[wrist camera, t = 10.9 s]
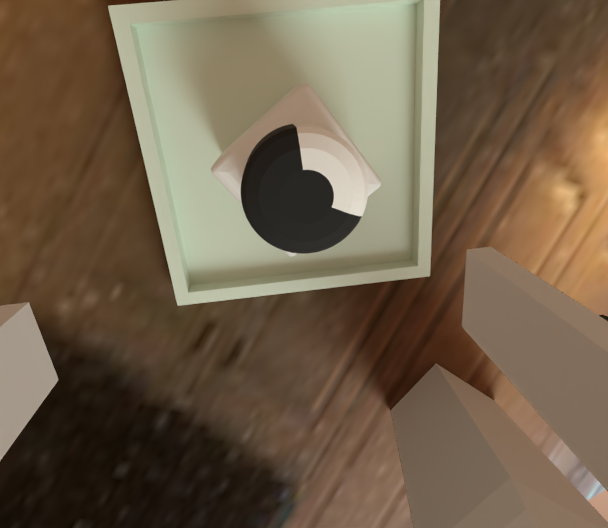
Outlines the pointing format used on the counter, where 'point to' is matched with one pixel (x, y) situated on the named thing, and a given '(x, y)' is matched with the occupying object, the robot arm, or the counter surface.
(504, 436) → the soap bottle
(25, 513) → the counter surface
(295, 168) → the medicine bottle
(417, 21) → the tray
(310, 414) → the counter surface
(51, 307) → the counter surface
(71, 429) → the counter surface
